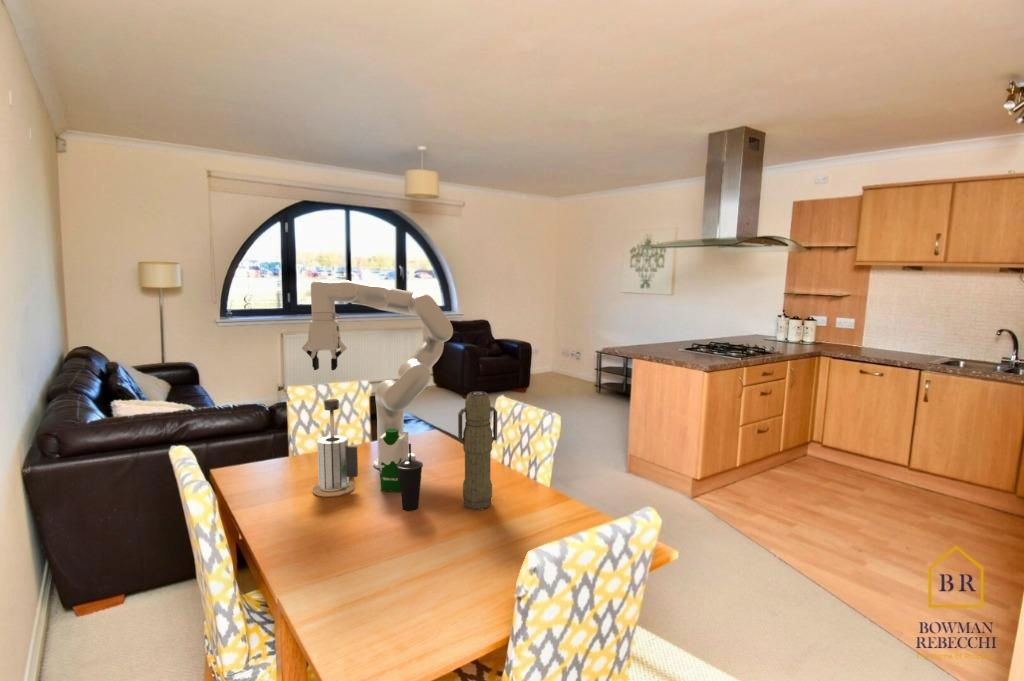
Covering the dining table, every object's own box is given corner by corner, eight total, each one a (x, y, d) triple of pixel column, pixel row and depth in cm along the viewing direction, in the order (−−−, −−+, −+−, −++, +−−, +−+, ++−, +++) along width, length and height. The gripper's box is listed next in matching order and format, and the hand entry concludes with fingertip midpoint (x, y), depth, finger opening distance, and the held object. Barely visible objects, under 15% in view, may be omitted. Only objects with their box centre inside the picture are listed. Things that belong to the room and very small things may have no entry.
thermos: (454, 501, 165) (454, 391, 161) (490, 496, 170) (490, 388, 166) (463, 513, 157) (463, 397, 153) (500, 507, 162) (501, 394, 158)
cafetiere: (362, 481, 181) (361, 433, 179) (351, 497, 168) (350, 445, 166) (321, 481, 180) (319, 433, 178) (306, 497, 167) (304, 445, 166)
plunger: (341, 454, 175) (340, 399, 173) (337, 459, 171) (336, 402, 168) (328, 454, 175) (326, 399, 173) (324, 459, 171) (322, 402, 168)
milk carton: (377, 492, 172) (376, 432, 170) (386, 481, 181) (385, 424, 179) (403, 493, 171) (403, 433, 169) (411, 482, 180) (411, 425, 178)
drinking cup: (417, 514, 156) (417, 448, 154) (393, 512, 158) (392, 446, 155) (427, 504, 163) (426, 441, 161) (403, 501, 165) (402, 439, 163)
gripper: (351, 316, 185) (353, 368, 187) (302, 316, 185) (304, 367, 187) (345, 318, 178) (346, 371, 180) (293, 317, 178) (295, 371, 180)
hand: (325, 369), depth 183 cm, fingers open, 5 cm apart
